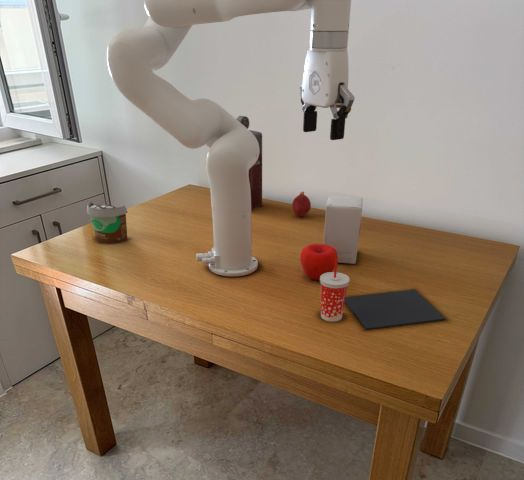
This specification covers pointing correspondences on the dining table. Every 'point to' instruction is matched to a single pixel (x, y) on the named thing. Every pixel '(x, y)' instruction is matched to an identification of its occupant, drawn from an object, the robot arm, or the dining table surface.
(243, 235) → the robot arm
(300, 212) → the onion
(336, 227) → the white product box
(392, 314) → the mat
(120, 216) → the food container
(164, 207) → the dining table surface
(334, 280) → the beverage cup
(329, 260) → the apple
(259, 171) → the toy vending machine
